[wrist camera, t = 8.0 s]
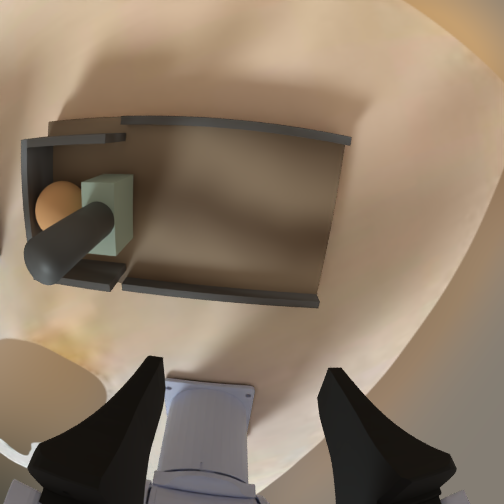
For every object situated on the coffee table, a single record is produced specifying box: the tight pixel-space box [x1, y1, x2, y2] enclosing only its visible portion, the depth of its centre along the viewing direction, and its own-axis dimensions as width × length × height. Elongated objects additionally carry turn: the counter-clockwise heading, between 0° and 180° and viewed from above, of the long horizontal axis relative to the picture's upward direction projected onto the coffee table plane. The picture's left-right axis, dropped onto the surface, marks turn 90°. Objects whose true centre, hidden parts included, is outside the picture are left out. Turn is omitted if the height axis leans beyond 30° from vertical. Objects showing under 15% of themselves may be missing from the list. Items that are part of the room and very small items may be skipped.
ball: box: [35, 181, 82, 231], centre depth 16 cm, size 4×4×4 cm
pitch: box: [21, 116, 352, 308], centre depth 17 cm, size 11×19×4 cm, turn 84°
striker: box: [24, 174, 133, 285], centre depth 13 cm, size 4×2×8 cm, turn 174°
